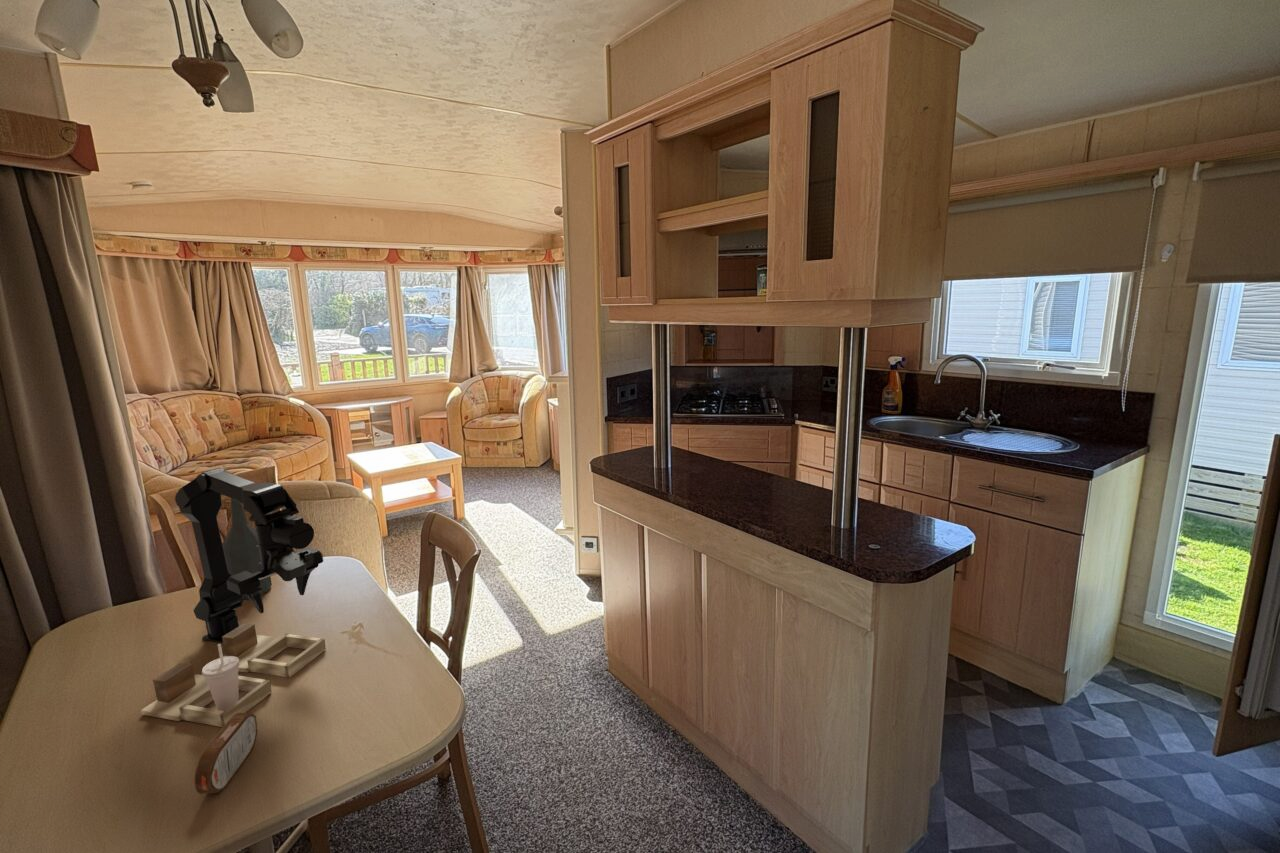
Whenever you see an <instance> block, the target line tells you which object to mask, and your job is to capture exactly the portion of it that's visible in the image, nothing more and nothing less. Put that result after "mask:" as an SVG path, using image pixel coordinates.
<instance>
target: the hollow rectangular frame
mask: <svg viewBox="0 0 1280 853" xmlns="http://www.w3.org/2000/svg"><path fill="white" fill-rule="evenodd" d="M222 639H223V642H222V644H223V649H224V654H223V657H226V656H235V657H237V658H238V659H239V662H240V665H239V667H238V672H241V673H249V672H251V673H258V674H263V675H265V674H266V675H271V676H272V675H273V676H277V677H283V678H292V677H293V676H294V675H295V674H296V673H298V672H299V671H300V670H302V669H303V668H304V667H305V666H307V665H308V664H309V663H311V662H312V661H313V660H314V659H315V658H317V657H318V656H320V654H322V653H323V652H324V651H326V650H327V648H326V647H327V646H326V641H325V638H322V637H321V638H320V637H313V636H307V635H306V636H305V635H298V634H290V633H285V634H283V635H281V636H280V637H276V636H270V635H269V636H268V635H261V634H257V631H256V624H254V623H246V622H244V623H241V624H239V627H237V628H235V629H234V630H232V631H231V632H229V633H227V634H226V635H224V636H223V637H222ZM286 648H294V649H295V648H296V649H303V650H304V651H302V652H301V653H300V654H298V655H297V656H295V657H294V658H293V659H292V660H290V661H289V662H283V661H276V660H271V659H273V658H274V657H276V656H277V655H279V654H280V653H281V652H282V651H284V650H285V649H286Z"/></svg>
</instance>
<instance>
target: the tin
mask: <svg viewBox="0 0 1280 853" xmlns="http://www.w3.org/2000/svg"><path fill="white" fill-rule="evenodd" d="M257 736H258V721H257V715H255V714H254V713H251V712H249V713H248V712H246V713H236V714H234V715H233V716H232V717H231V718H230V719H229V721H228V722H227V723H226V724H225V725H224V726H223V727H221V729H220V730H219V731H218V732H217V734H216V735H214V737H213V738H212V739H211V740H210V741H209V742H208V743H207V745H206V746H205V748H204V749H203V751H202V753H201V755H200V757H199V759H198V761H197V764H196V768H195V772H194V782H193V783H194V788H195V791H196V793H198V794H199V795H204V794H216V793H220V792H221V791H222V790H224V789H225V787H226V786H228V784H229V783H230V781H231V780H232V779H233V777H234V776H235V774H236V773H237V772H238V771H239V770H240V768H241V767H242V766H243V764H244V762H245V761H246V760H247V758H249V756H250V754H251V753H252V751H253V748H254V747H255V744H256V741H257Z"/></svg>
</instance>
